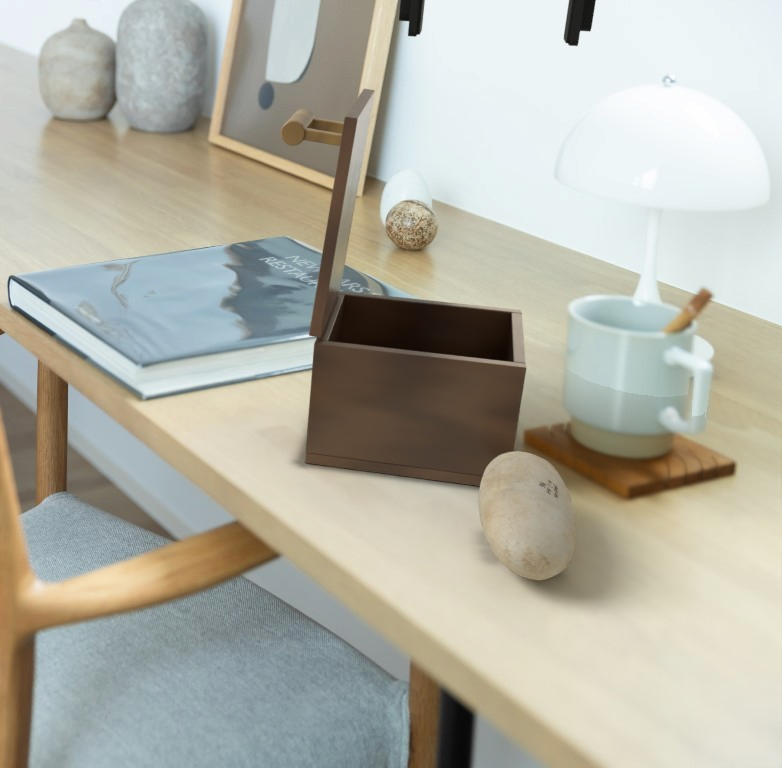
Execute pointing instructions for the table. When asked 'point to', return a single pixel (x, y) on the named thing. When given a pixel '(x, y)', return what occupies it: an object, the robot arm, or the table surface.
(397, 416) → the keepsake box
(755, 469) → the table surface
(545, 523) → the stone
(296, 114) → the lid
